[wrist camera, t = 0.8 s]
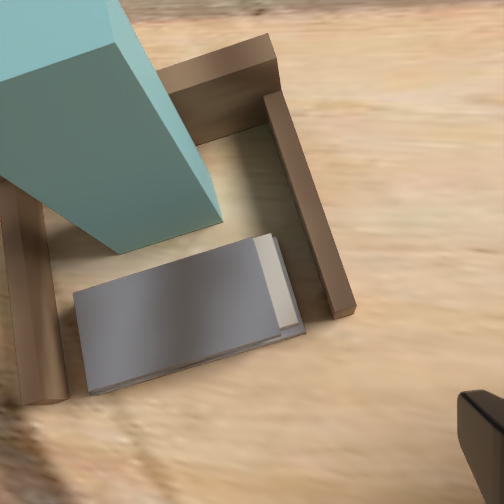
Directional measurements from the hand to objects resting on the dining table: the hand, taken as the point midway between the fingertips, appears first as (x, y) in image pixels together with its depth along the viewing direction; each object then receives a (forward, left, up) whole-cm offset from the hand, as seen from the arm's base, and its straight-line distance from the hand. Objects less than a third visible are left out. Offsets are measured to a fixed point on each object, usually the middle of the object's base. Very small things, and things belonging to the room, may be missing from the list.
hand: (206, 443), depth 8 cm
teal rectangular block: (0, +12, -15) cm, 19 cm away
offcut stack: (-1, +6, -15) cm, 16 cm away
